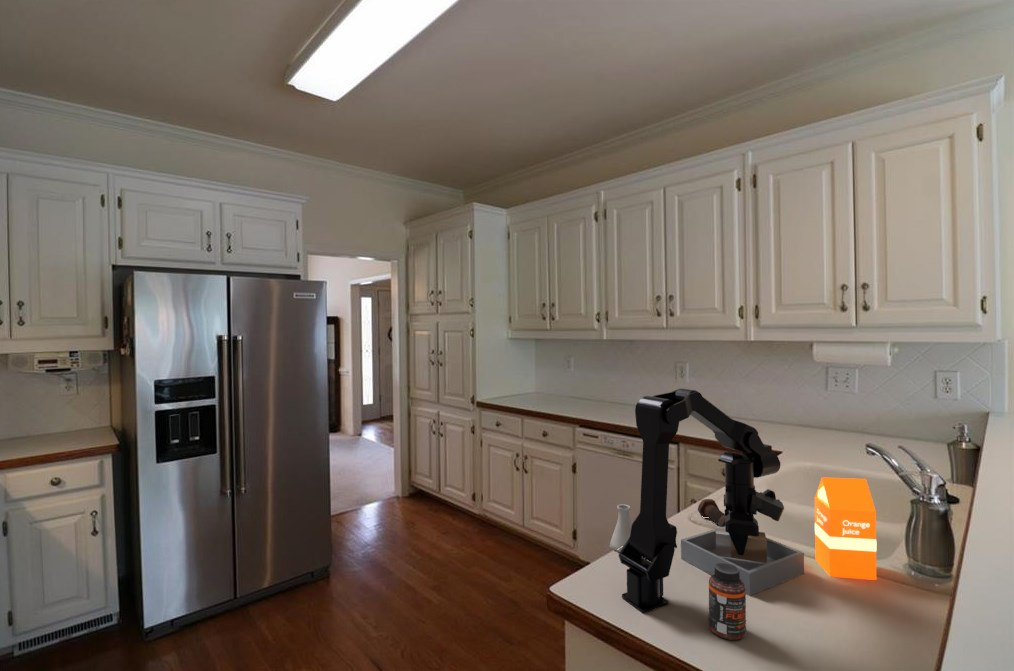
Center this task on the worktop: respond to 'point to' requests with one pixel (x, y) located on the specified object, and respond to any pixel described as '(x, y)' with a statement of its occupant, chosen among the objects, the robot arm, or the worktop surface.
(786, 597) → the worktop surface
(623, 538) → the flask
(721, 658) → the worktop surface
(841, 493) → the orange juice
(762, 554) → the tan rectangular block
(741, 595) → the supplement bottle
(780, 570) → the bin
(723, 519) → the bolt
